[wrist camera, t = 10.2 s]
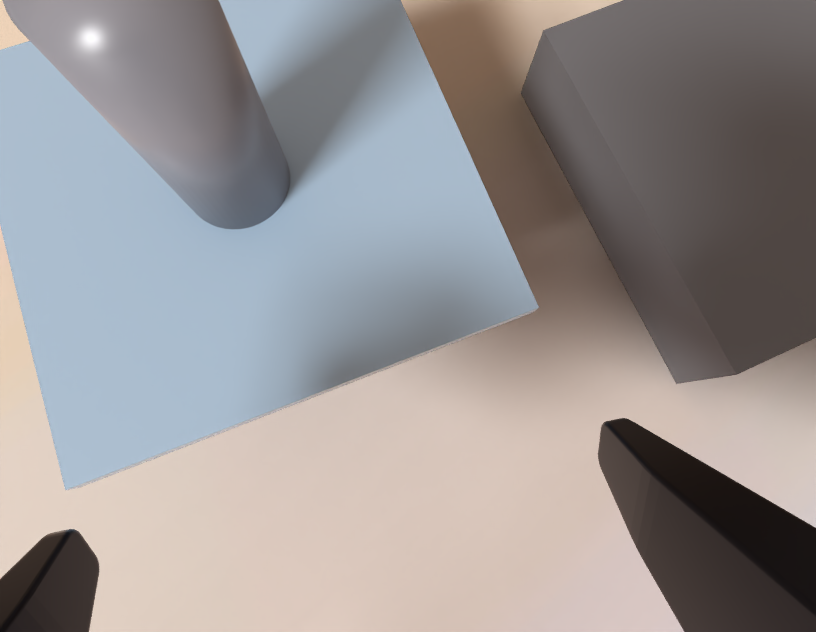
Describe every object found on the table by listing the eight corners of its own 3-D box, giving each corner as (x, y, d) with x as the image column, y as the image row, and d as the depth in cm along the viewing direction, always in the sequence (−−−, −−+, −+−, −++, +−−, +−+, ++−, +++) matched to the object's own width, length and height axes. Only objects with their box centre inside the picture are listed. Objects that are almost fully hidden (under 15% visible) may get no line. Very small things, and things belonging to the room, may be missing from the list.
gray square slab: (965, 250, 23) (1079, 215, 19) (676, 383, 22) (736, 374, 18) (787, -11, 26) (855, -87, 22) (520, 92, 25) (543, 30, 21)
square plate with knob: (533, 312, 15) (666, 199, 7) (79, 487, 14) (-299, 560, 6) (372, -47, 17) (352, -401, 10) (-24, 75, 16) (-383, -222, 9)
